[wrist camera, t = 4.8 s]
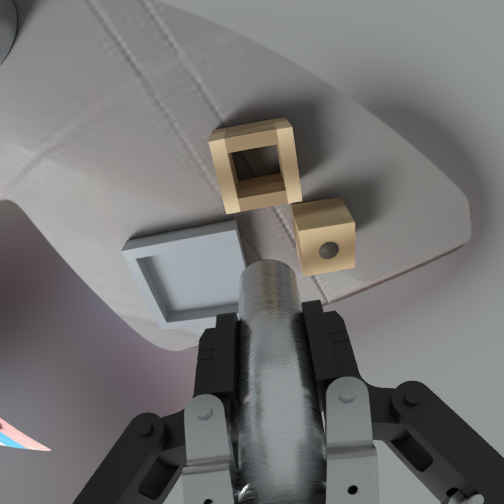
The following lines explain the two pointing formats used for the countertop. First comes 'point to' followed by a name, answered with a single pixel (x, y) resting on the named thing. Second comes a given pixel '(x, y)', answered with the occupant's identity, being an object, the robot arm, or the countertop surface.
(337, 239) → the block
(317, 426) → the cylinder
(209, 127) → the countertop surface
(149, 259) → the tray
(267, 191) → the oak block
